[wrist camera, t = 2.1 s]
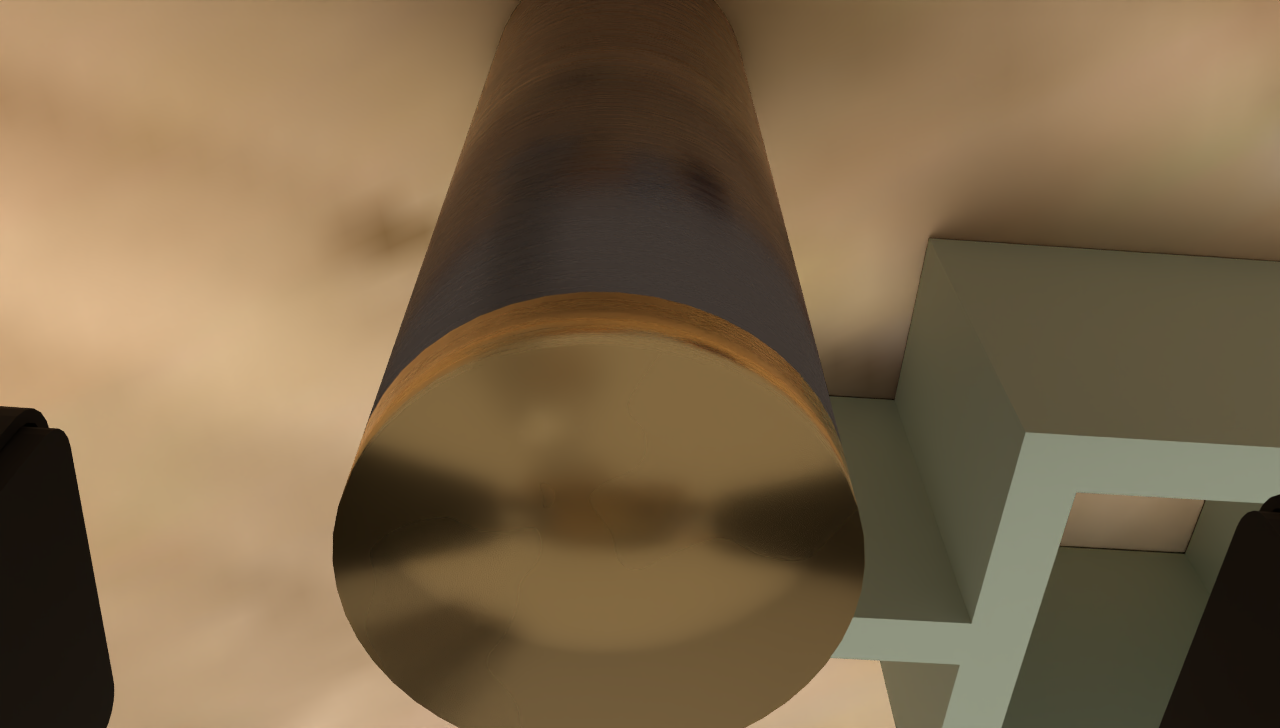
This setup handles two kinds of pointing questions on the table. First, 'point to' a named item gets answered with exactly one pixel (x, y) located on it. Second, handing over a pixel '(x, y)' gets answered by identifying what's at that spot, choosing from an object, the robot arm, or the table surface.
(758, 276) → the cylindrical canister
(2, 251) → the table surface
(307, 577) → the table surface
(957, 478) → the grey-green frame piece
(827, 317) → the table surface
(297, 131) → the table surface
